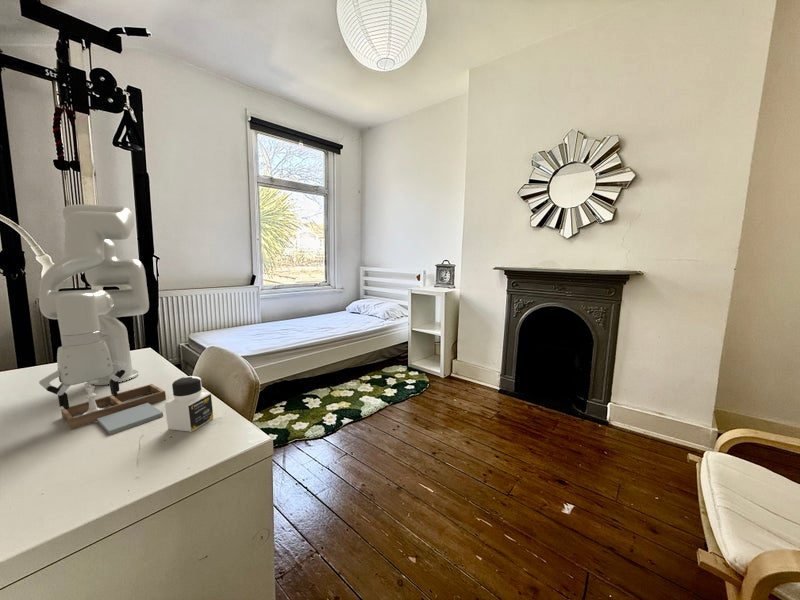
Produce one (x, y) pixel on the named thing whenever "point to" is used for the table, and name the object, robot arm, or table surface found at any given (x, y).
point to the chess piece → (91, 398)
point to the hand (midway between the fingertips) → (91, 401)
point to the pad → (129, 418)
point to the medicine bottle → (188, 405)
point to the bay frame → (116, 405)
